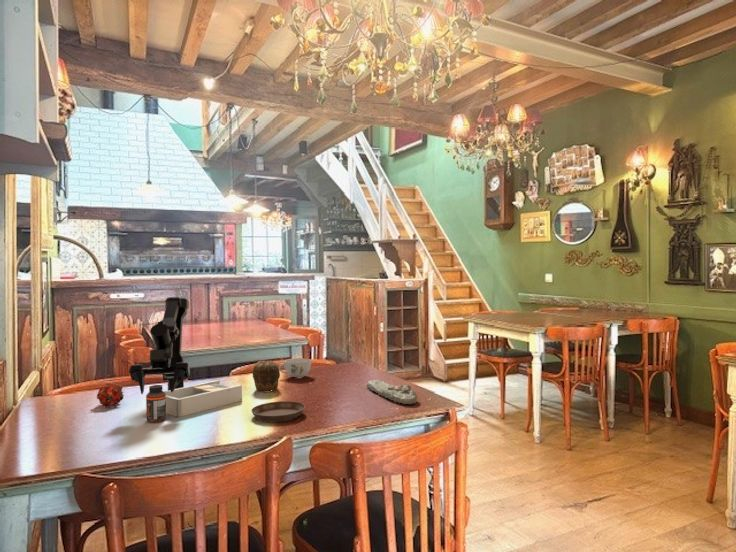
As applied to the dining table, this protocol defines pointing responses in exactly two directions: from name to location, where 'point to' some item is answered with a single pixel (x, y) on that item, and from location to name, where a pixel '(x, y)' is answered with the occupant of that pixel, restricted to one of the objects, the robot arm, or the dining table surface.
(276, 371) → the brown ridged rounded piece
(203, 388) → the trapdoor
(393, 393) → the long grey stone
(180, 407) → the frame
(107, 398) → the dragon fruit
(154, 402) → the supplement bottle
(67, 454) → the dining table surface
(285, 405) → the plant saucer
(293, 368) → the teacup
